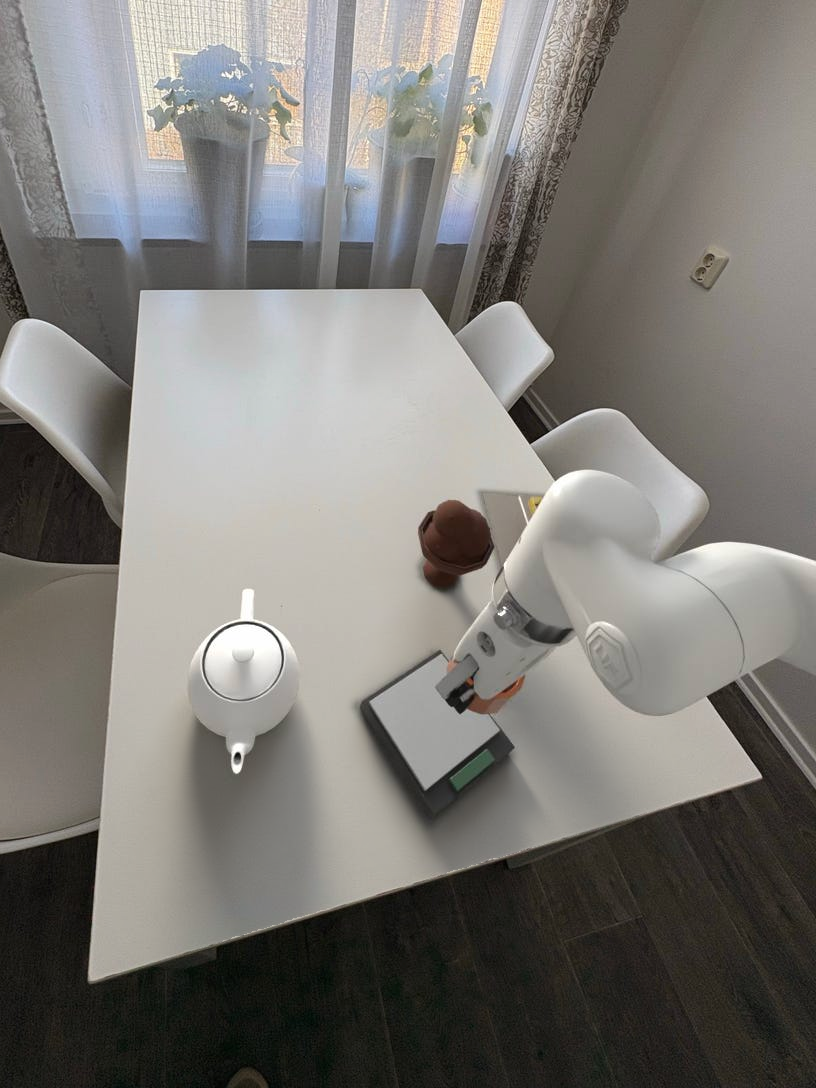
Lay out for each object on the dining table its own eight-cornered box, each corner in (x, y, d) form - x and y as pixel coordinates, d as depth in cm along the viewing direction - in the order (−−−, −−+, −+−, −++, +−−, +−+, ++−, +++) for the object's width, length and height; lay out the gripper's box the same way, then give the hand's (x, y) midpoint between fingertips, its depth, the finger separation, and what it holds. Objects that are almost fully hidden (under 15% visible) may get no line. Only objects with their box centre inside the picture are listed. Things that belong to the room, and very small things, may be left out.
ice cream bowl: (413, 605, 78) (437, 547, 68) (401, 542, 86) (421, 482, 76) (482, 604, 80) (516, 547, 69) (464, 542, 87) (492, 483, 77)
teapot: (199, 613, 74) (193, 571, 67) (297, 612, 76) (301, 571, 68) (176, 797, 59) (163, 770, 51) (299, 791, 60) (305, 764, 53)
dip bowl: (521, 693, 56) (539, 675, 53) (474, 730, 53) (490, 712, 50) (478, 640, 60) (491, 619, 57) (431, 671, 57) (443, 651, 53)
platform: (546, 497, 97) (560, 473, 92) (578, 584, 84) (597, 562, 79) (482, 493, 96) (493, 468, 91) (505, 581, 83) (519, 557, 78)
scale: (508, 753, 65) (517, 745, 63) (429, 820, 60) (435, 813, 57) (435, 656, 73) (441, 646, 71) (359, 707, 67) (362, 698, 65)
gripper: (500, 690, 38) (439, 762, 50) (642, 585, 45) (559, 669, 58) (433, 606, 42) (392, 691, 54) (573, 522, 50) (509, 614, 62)
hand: (478, 679), depth 56 cm, fingers closed on dip bowl, 7 cm apart
